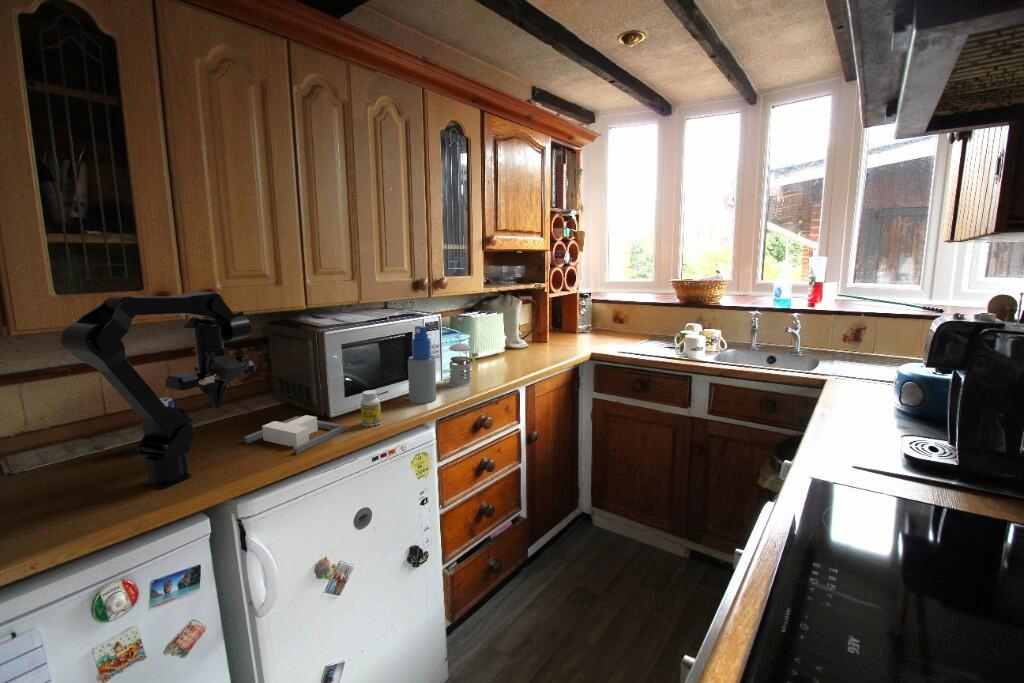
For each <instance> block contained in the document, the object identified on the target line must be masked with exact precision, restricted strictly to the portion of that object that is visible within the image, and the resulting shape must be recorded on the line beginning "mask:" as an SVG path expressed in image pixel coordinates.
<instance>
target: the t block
mask: <svg viewBox="0 0 1024 683" xmlns="http://www.w3.org/2000/svg"><path fill="white" fill-rule="evenodd" d="M299 417H300V418H298V419H295V420H293V421H290V422H288V423H282V422H283V421H275V420H274V421H270V422H269V423H267V424H263V425H262V426H261V428H262V429H261V430H263V437H262V438H263V440H262V441H265V442H268V443H274V444H279V445H283V446H286V445H287V446H288V447H291V446H293V447H292V448H295V447H297V446H299V445H301V444H303V443H305V442H307V441H310V435H312V434H314V433H316V432H318V428H319V427H318V426H317V420H318V416H313V415H307V414H305V415H303V416H299ZM313 432H314V433H313ZM311 433H312V434H311ZM309 434H310V435H309ZM287 446H286V447H287Z"/></svg>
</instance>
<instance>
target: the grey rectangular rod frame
mask: <svg viewBox="0 0 1024 683" xmlns="http://www.w3.org/2000/svg"><path fill="white" fill-rule="evenodd" d="M300 417H301V416H297V415H295V416H294V417H292V418H289V419H285V420H284V421H281V422H282V423H288V422H290V421H293V420H295V419H298V418H300ZM317 426H318V428H320V429H325V430H329V431H327V432H325V433H322V434H320V435H318V436H317V437H314V438H312V439H309V441H307V442H305V443H303V444H301V445H299V446H297V447H292V450H293V454H294V453H299V452H301V451H303V450H305V449H307V448H309V447H312V446H314V445H316V446H318V445H320V444H322V443H324V442H326V441H328V440H330V439H332V438H334V437H333V436H335V435H337V434H339V435H340V433H341V434H342V432H343V433H345V432H346V431H347V426H346V425H344V424H339V423H334V422H328V421H323V420H318V419H317ZM344 431H345V432H344ZM337 436H338V435H337ZM331 437H332V438H331ZM335 437H336V436H335ZM243 438H244V443H246V444H249V443H252V442H255V441H257V440H260V439H261V438H263V430H262V429H261V430H258V431H255V432H254V433H250V434H248V435H245V436H244V437H243ZM329 438H330V439H329ZM327 439H328V440H327ZM325 440H326V441H325ZM323 441H324V442H323ZM321 442H322V443H321ZM319 443H320V444H319ZM317 444H318V445H317ZM314 447H315V446H314ZM312 448H313V447H312Z"/></svg>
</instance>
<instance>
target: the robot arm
mask: <svg viewBox="0 0 1024 683" xmlns="http://www.w3.org/2000/svg"><path fill="white" fill-rule="evenodd" d="M172 314H176V315H177V314H178V315H179V314H181V315H186V316H190V318H189V320H188V321H187V322H186V323H185V324H184V325H183V328H184V329H186V330H187V329H188V330H189V329H190V330H193V339H194V346H195V347H194V348H195V349H192V350H191V352H192V353H191V354H192V355H196V362H197V363H196V364H197V366H194V367H193V368H194V372H196V373H191V372H186V371H182V372H181V371H180V372H176V373H173V374H168V375H167V377H166V378H165V380H164V381H165V388H167V389H172V390H175V391H176V390H177V391H186V390H191V389H194V388H197V387H198V388H199V390H200V391H201V392H202V393H203V394H204V396H205V397H206V399H207V401H208V402H209V403H210V404H211V406H212V408H214V409H216V410H217V409H220V407H221V404H222V401H223V397H224V393H225V391H226V389H227V386H228V385H229V384H230V383H231V382H232V381H235V379H236V378H241V377H243V374H244V375H248V374H250V373H251V374H252V373H254V372H256V367H255V364H254V363H253V361H252V360H249V356H248V355H246V354H245V353H243V354H239V355H237V356H231V355H230V351H229V349H228V348H227V347H225V346H224V342H229V341H234V340H238V339H239V340H240V339H243V338H247V337H249V336H250V335H251V333H252V331H253V330H252V329H253V326H252V324H251V322H250V320H249V319H248V318H247V317H246V316H245V315H244V311H238V310H237V311H235V310H234V311H232V309H230V307H229V306H228V305H227V303H226V302H225V301H224V299H223V297H222V296H221V294H220V293H218V292H210V291H190V292H185V293H180V294H178V295H174V296H130V295H115V294H114V295H111V296H109V297H108V298H106V299H104V301H103V302H102V303H101V304H100V305H99V306H97V307H95V308H93V309H92V310H90V311H88V312H87V313H85V314H84V315H82V316H81V317H79V318H78V320H76V322H74V323H72V324H70V325H68V326H67V327H66V328H65V329H64V330H63V331H62V332H61V337H60V338H61V339H60V340H59V341H60V344H61V346H62V348H63V349H64V350H65V351H66V352H68V353H69V354H71V355H72V356H73V357H75V358H76V359H77V360H78V361H81V362H83V363H85V364H86V365H88V366H91V367H92V368H95V369H96V370H97V371H98V372H99V373H100V374H101V375H102V376H103V377H104V378H105V380H107V382H108V383H109V384H110V385H111V386H112V387H113V389H115V390H116V392H117V393H118V394H119V395H120V396H121V398H123V400H124V401H126V403H127V404H128V405H129V407H131V408H132V410H134V413H137V415H138V416H139V417H140V419H141V429H142V431H143V433H144V435H143V437H142V438H141V439H140V441H139V442H138V444H137V445H136V447H135V451H136V452H137V453H138V455H139V456H142V457H143V456H145V458H144V460H145V467H146V473H147V479H145V480H143V483H144V484H145V485H148V486H152V487H155V488H158V489H161V490H162V489H166V488H169V487H170V486H172V485H175V484H177V483H180V482H182V481H184V480H186V479H189V478H191V477H192V475H193V474H192V473H190V472H189V465H188V464H189V463H188V457H187V454H188V453H189V452H190V449H191V444H192V438H193V433H194V432H193V431H194V430H195V428H194V425H193V423H192V422H194V419H192V418H190V417H189V416H188V414H187V413H186V410H184V409H183V408H182V407H175V406H174V407H168V406H165V405H164V403H163V402H162V401H161V400H160V399H159V398H160V397H159V396H158V395H157V394H156V393H155V391H154V390H153V389H152V388H151V387H150V385H149V384H148V383H147V382H146V381H145V379H144V378H143V377H142V376H141V374H140V373H139V372H138V371H137V370H136V369H135V368H134V366H133V365H132V364H131V362H130V361H129V360H128V359H127V357H126V346H125V343H124V342H123V340H122V339H123V338H124V336H126V334H128V332H129V331H130V328H131V324H132V323H133V322H132V321H133V319H134V318H135V317H136V316H145V315H148V316H149V315H150V316H151V315H152V316H153V315H172ZM191 316H192V317H191ZM198 317H200V318H202V319H200V318H198ZM162 444H165V445H168V446H165V445H162Z"/></svg>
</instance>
